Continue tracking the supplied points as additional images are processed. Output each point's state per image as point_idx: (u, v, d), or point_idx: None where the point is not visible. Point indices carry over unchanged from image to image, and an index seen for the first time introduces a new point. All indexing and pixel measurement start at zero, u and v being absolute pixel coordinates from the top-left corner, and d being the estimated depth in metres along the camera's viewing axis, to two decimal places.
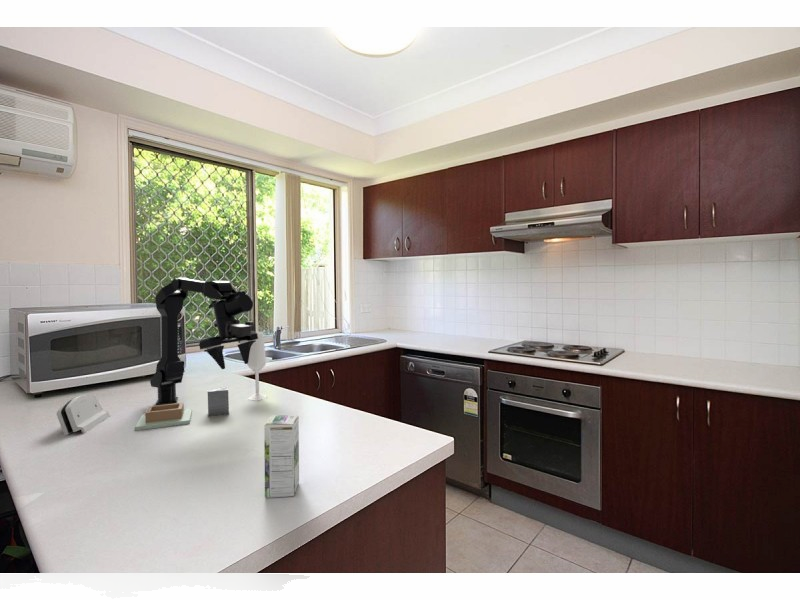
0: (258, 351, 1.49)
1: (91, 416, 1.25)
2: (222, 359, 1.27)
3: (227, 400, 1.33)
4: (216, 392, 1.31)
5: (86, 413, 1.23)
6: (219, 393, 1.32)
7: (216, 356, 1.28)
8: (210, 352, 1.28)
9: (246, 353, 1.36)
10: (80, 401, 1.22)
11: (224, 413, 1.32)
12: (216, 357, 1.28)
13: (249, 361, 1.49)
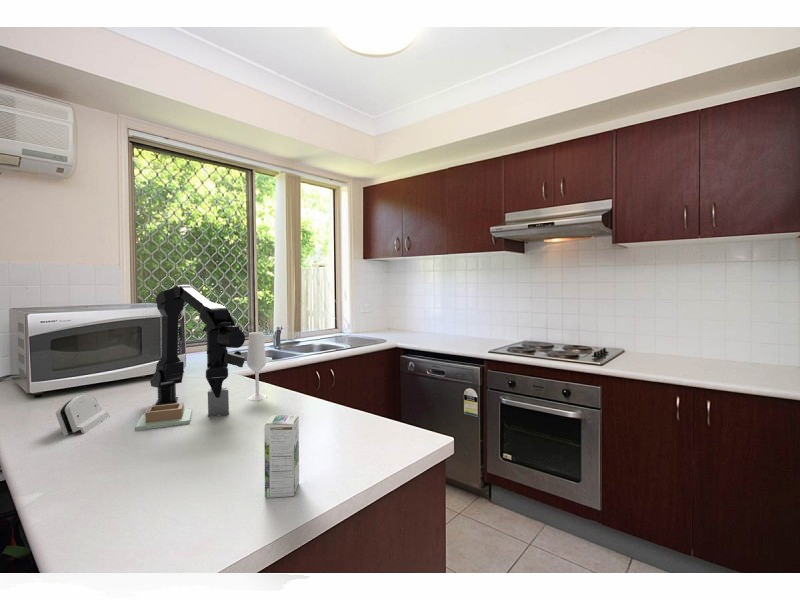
0: (258, 351, 1.49)
1: (90, 416, 1.24)
2: None
3: (227, 400, 1.33)
4: None
5: (85, 413, 1.23)
6: None
7: (215, 385, 1.28)
8: (210, 380, 1.26)
9: None
10: (79, 401, 1.22)
11: (224, 413, 1.32)
12: (215, 386, 1.28)
13: (249, 361, 1.49)
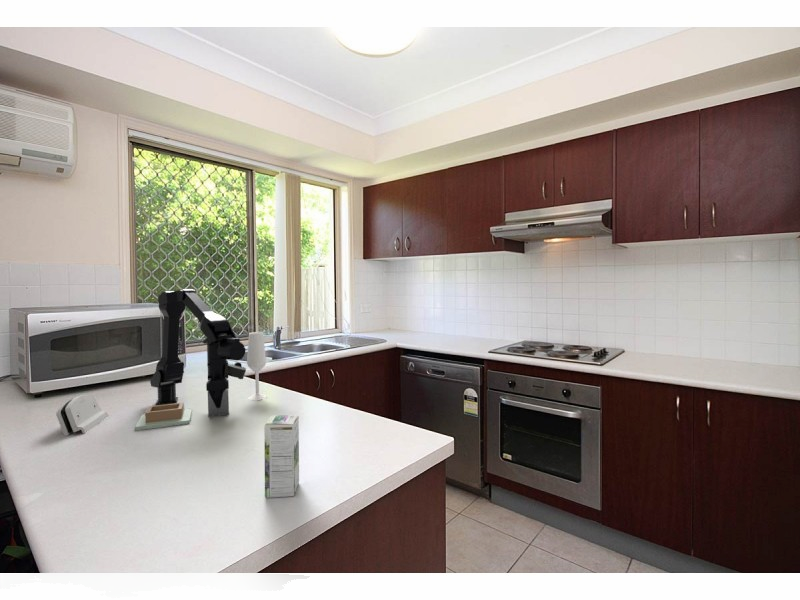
0: (258, 351, 1.49)
1: (90, 416, 1.24)
2: (221, 398, 1.31)
3: (227, 400, 1.33)
4: None
5: (85, 413, 1.23)
6: None
7: (216, 395, 1.30)
8: (211, 391, 1.29)
9: None
10: (79, 401, 1.22)
11: (224, 413, 1.32)
12: (216, 396, 1.30)
13: (249, 361, 1.49)
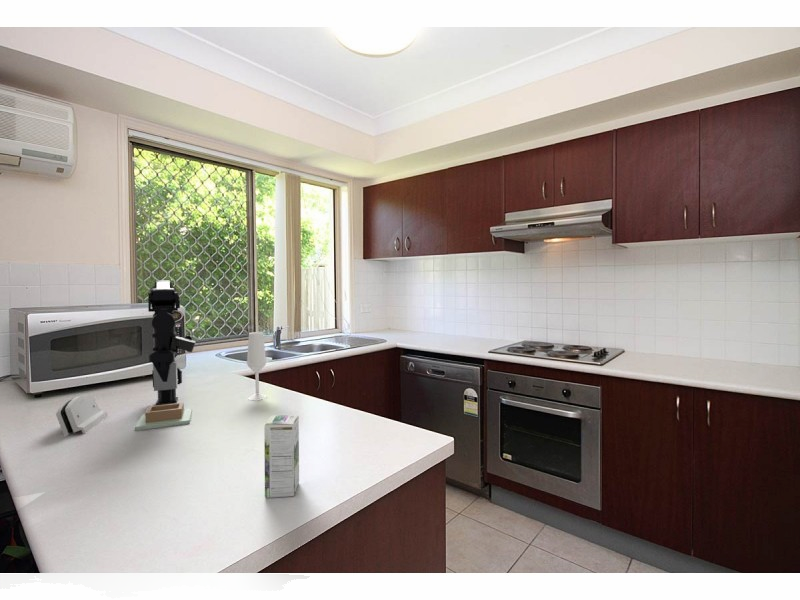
0: (258, 351, 1.49)
1: (90, 416, 1.24)
2: (168, 372, 1.25)
3: (175, 374, 1.26)
4: None
5: (85, 413, 1.22)
6: None
7: (162, 368, 1.24)
8: (156, 364, 1.23)
9: None
10: (78, 401, 1.22)
11: (171, 387, 1.26)
12: (162, 369, 1.24)
13: (249, 361, 1.49)
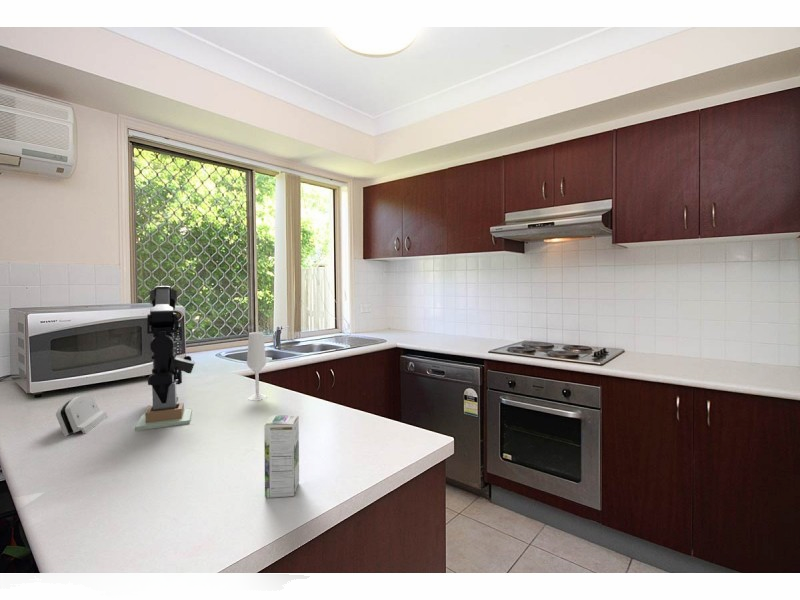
0: (258, 351, 1.49)
1: (89, 417, 1.24)
2: (167, 393, 1.25)
3: (174, 395, 1.27)
4: None
5: (85, 414, 1.22)
6: None
7: (161, 390, 1.24)
8: (155, 385, 1.23)
9: None
10: (78, 402, 1.21)
11: (170, 408, 1.26)
12: (161, 391, 1.24)
13: (249, 361, 1.49)
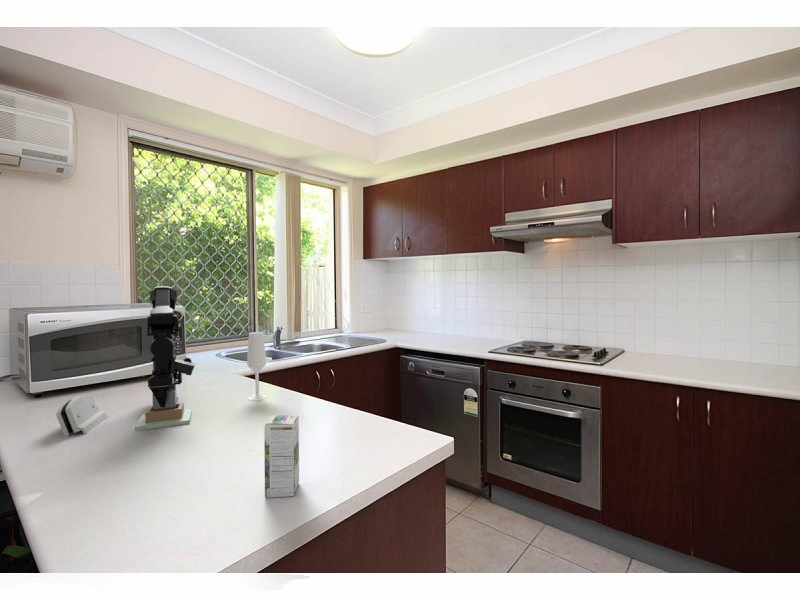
0: (258, 351, 1.49)
1: (89, 417, 1.24)
2: (166, 397, 1.23)
3: (174, 402, 1.27)
4: None
5: (85, 414, 1.22)
6: None
7: (160, 394, 1.22)
8: (154, 389, 1.20)
9: (169, 388, 1.32)
10: (78, 402, 1.21)
11: None
12: (160, 395, 1.22)
13: (249, 361, 1.49)
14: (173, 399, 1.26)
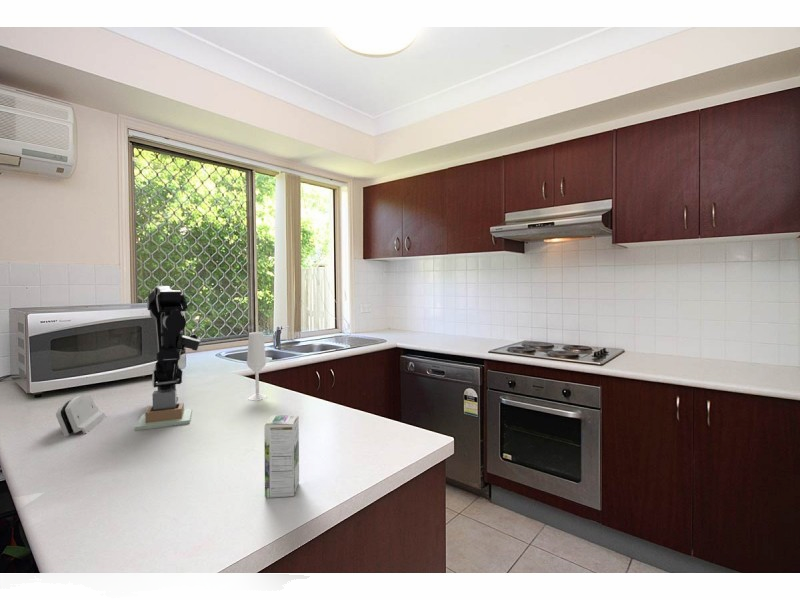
0: (258, 351, 1.49)
1: (89, 417, 1.24)
2: (174, 370, 1.31)
3: (174, 402, 1.27)
4: (162, 394, 1.25)
5: (84, 414, 1.22)
6: (165, 395, 1.26)
7: (168, 367, 1.30)
8: (162, 362, 1.29)
9: (176, 363, 1.40)
10: (78, 402, 1.21)
11: None
12: (168, 368, 1.30)
13: (249, 361, 1.49)
14: (173, 399, 1.26)
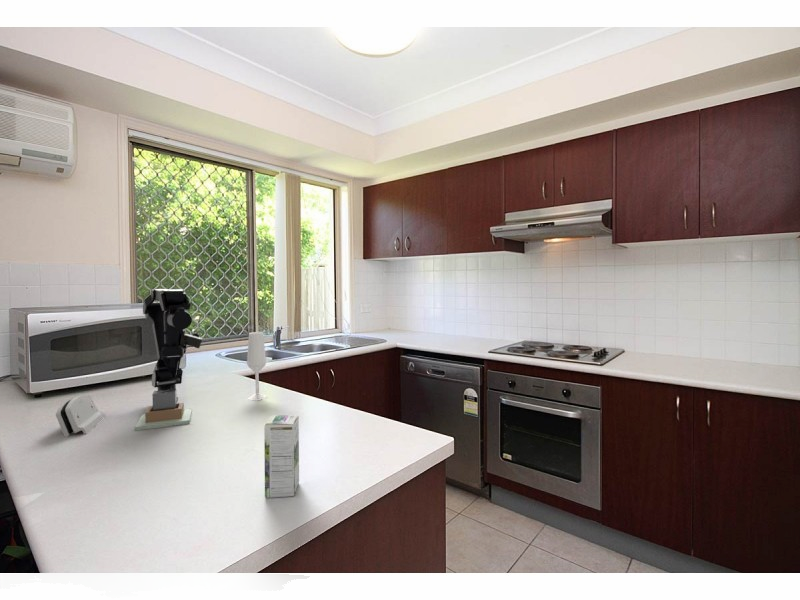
0: (258, 351, 1.49)
1: (89, 417, 1.24)
2: (177, 367, 1.34)
3: (174, 402, 1.27)
4: (162, 394, 1.25)
5: (84, 414, 1.22)
6: (165, 395, 1.26)
7: (171, 364, 1.33)
8: (166, 360, 1.32)
9: (179, 361, 1.43)
10: (78, 402, 1.21)
11: None
12: (171, 365, 1.33)
13: (249, 361, 1.49)
14: (173, 399, 1.26)
